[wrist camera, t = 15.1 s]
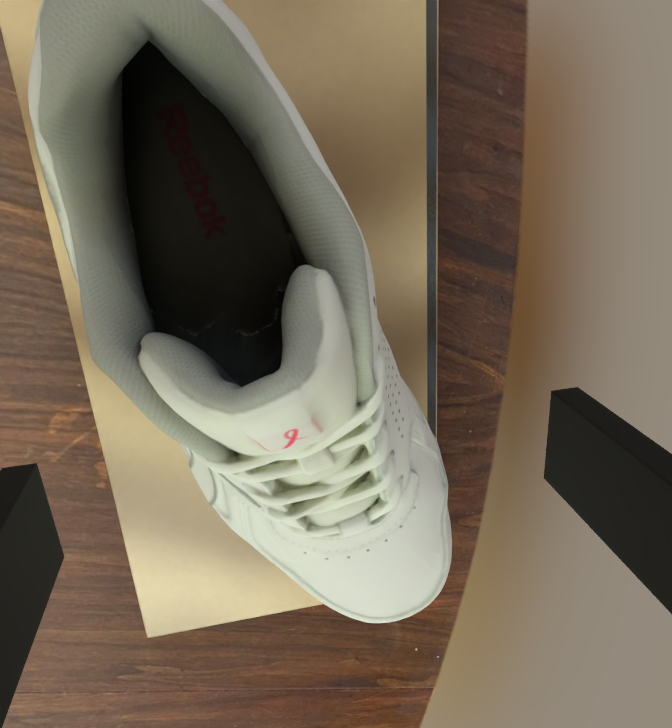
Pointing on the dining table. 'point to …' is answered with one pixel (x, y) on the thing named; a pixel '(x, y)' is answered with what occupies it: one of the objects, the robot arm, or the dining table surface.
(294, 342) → the running shoe
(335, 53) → the shoe shelf
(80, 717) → the dining table surface
